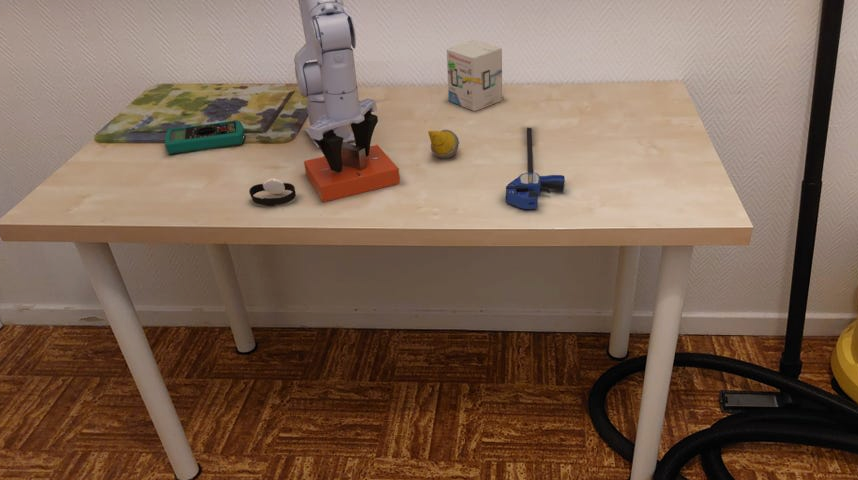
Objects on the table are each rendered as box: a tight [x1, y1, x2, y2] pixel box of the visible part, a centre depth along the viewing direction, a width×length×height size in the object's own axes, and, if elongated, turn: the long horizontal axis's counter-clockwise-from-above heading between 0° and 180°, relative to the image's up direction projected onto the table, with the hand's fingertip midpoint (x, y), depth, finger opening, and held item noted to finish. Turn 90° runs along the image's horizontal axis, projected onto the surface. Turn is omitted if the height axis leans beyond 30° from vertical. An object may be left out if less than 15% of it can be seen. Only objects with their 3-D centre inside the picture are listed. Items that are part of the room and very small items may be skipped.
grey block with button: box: [341, 142, 367, 170], centre depth 129 cm, size 6×2×4 cm, turn 55°
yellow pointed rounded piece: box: [427, 129, 460, 160], centre depth 136 cm, size 5×5×10 cm
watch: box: [248, 177, 297, 207], centre depth 126 cm, size 8×5×4 cm, turn 91°
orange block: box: [303, 144, 401, 203], centre depth 131 cm, size 14×11×3 cm
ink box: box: [446, 39, 503, 112], centre depth 157 cm, size 9×8×12 cm
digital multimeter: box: [164, 119, 246, 155], centre depth 146 cm, size 7×15×3 cm, turn 105°
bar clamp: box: [505, 127, 566, 210], centre depth 134 cm, size 32×2×10 cm
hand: (350, 162), depth 130 cm, fingers open, 6 cm apart
